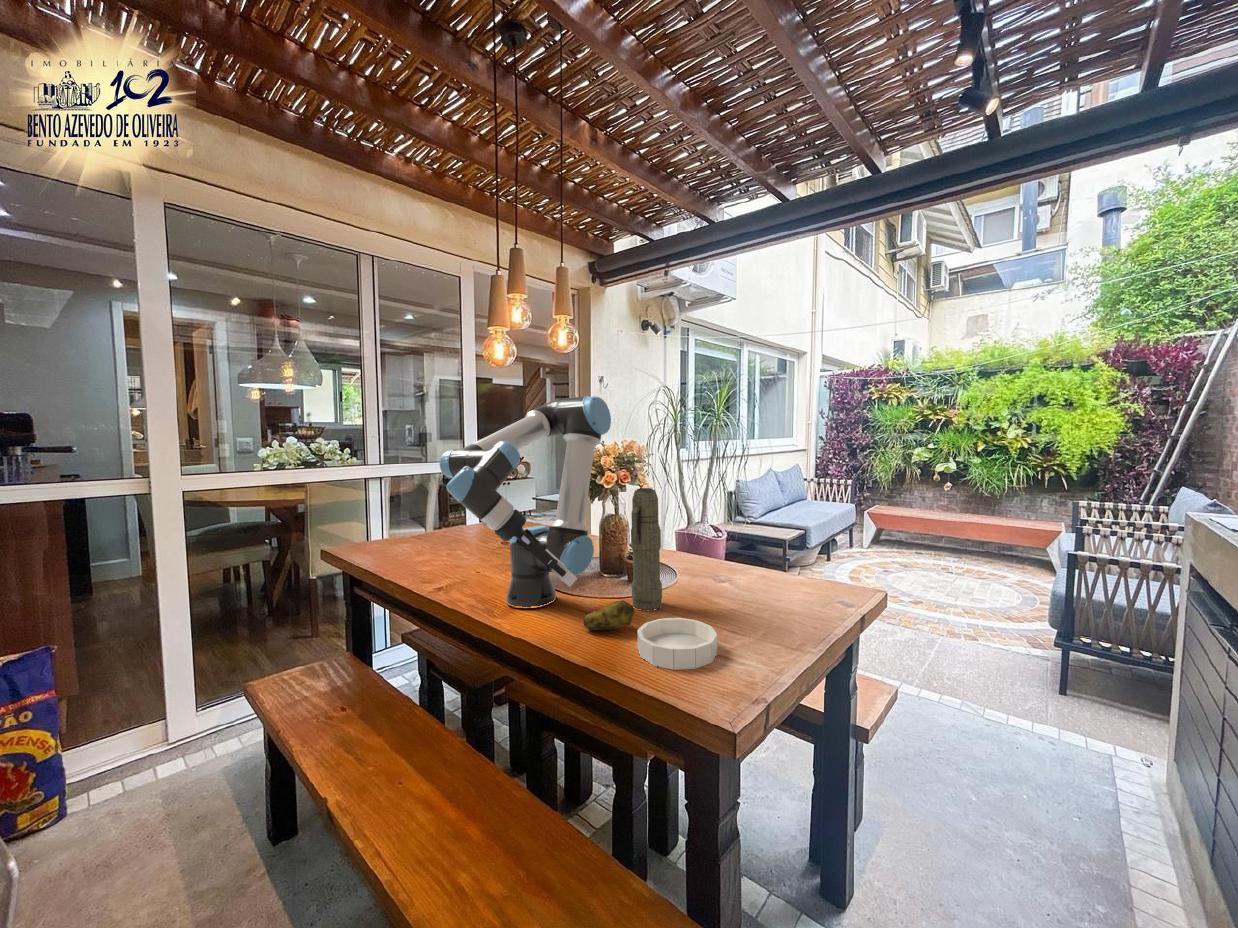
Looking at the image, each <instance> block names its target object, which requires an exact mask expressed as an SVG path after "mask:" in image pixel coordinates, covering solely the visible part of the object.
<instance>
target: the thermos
mask: <svg viewBox="0 0 1238 928" xmlns="http://www.w3.org/2000/svg"><path fill="white" fill-rule="evenodd" d="M631 502H632V510H631V529H630V543H631V544H630V548H631V551H632V568H633V569H632V572H633V573H632V574H633V576H632V577H633V579H632V582H631V599H632V606H633V607H635V608H637V609H641V610H654V609H658V608H660V607H661V606H663V605H662V604H663V603H662V599H663V584H662V583H663V582H662V581H661V565H660V564H661V563H660V562H661V560H660V558H661V557H660V556H661V555H660V550H661V548H662V537H661V536H662V533H661V531H662V530H661V527H660V524H659V497H658V495H657V491H656V490H655V489H653V488H652V487H651V488H649V487H645V488H644V487H643V488H641V487H640V488H637V489H635V490H634V492H633V496H632V501H631ZM661 608H662V607H661ZM661 608H660V609H661ZM658 610H659V609H658ZM654 611H655V610H654Z"/></svg>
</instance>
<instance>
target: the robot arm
mask: <svg viewBox="0 0 1238 928" xmlns="http://www.w3.org/2000/svg"><path fill="white" fill-rule="evenodd" d="M611 424H612V418H611V412H610V409H609V406H608V404H607V403H606V401H605V400H604V399H603V398H601V397H599V396H595V395H594V396H589V395H586V396H579V397H577V396H576V397H565V398H564V397H563V398H557V399H553V400H551V401H549V402H546V403H544V404H542V405H540V406H538V407H536V408H534V409H531V410H530V411H528V412H527V414H525V417H524V418H521V419H520V420H517V421H516V422H513V423H511V424H509V425H507V426H505V427H503V428H502V429H498V430H497V431H495V432H494V433H491V434H489V435H487V436H485V437H483V438H481V439H479V440H477V441H475V442H473V443H471V444H469V445H467V446H465V447H462V448H460V449H452V450H448V451H445V452H444V453H443V454H442V455H441V456H440V459H439V468H440V471H441V473H442V475H444V476H445V477H446V478H449V479H450V480H449V482H448V483H447V484H446V486H445V487H446V491H447V492H448V493H449V494H450V495H451V497H452V498H454V499H455V500H456V502H458V503H459V504H460V505H462V506H463V507H465V509H467V510H468V511H469V512H470V513H471V514H473V515H474V516H475V517H476V518H478V520H480V521H481V526H482V527H485V526H487V528H488V529H490V531H491V530H492V531H494V534H495V535H497V536H498V537H499V539H501V540H502V541H504V542H508V541H510V542H509V550H510V551H509V553H510V568H511V569H510V570H511V571H510V574H511V580H510V582H509V587H508V590H507V593H506V599H505V600H507V601H506V603H507V602H508V603H509V604H511V605H514V606H522V607H531V606H540V605H544V604H547V603H549V602H551V601H553V600H554V599H555V598H556V599H557V595H556V593H557V592H556V589H555V586H554V584H553V581H552V579H551V575H550V573H553V574H554V575H555V576H556V577H557V578H559V580H560V581H562V582H563V583H564V584H566V586H568V587H569V588H571V587H572V585H573V584H574V583H575V582H576V581H577V580H578V577H577V576H579V575H581V574H583V573H584V572H585V571H586V569H588V567H589V566H590V564H591V563H592V559H593V557H594V554H595V553H594V552H595V549H594V548H595V547H594V544H593V543H594V542H593V540H592V539H591V537H589V536H588V535H589V530H588V528H587V527H586V525H585V519H586V512H587V505H588V497H589V491H590V483H591V475H592V468H593V464H594V463H593V460H594V454H595V448H596V447H597V446H598V445H599V444H600V443H601V441H602V438H601V437H602V435H603V436H604V435H605V434H607V433H608V432H609V430H610V428H611ZM552 436H562V438H563V440H564V442H566V446H565V453H564V454H565V455H564V461H563V468H562V472H561V473H562V474H561V482H560V488H559V493H558V499H557V506H556V507H557V509H556V513H555V519H554V521H553V522H552V523H551V524H549V527H548V526H547V525H534V526H526V527H524V526H525V524H526V522H527V517H526V516H525V515H523V513H521V512H520V511H519V510H518V509H515V507H514V505H513V504H512V503H510V501H508V500H507V499H506V498H505V497H504V496H503V495H501V494H500V493H499V492H498V489H499V488H500V486H501V485H502V484H503V483H504V482H505V481H506V479H507V478H508V477H509V476H510V475H511V474H512V473H513V472H514V471H515V469H516V467H518V465H519V463H520V461H521V454H520V452H519V451H518V450H520V449H522V448H523V447H526V446H527V445H529V444H531V443H533V442H534V441H537V440H541V441H542V440H544V439H547V438H549V437H552Z"/></svg>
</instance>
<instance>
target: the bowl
mask: <svg viewBox="0 0 1238 928" xmlns="http://www.w3.org/2000/svg"><path fill="white" fill-rule="evenodd" d="M636 631H637V632H636V633H637V650H639V652H638V655H639V654H640V656H639V658H640V657H642V658H643V659H645V660H646V661H648V662H649V663H650V664H649V663H648V662H647V663H648V664H649V665H651V664H652V665H651V666H654V667H657V666H659V667H658V668H662V669H666V670H672V671H673V670H675V671H677V670H681V671H682V670H695V669H698V668H701V667H704V666H706V665H709V664H712V663H713V662H714V660H715V658H716V657H715V656H718V634H717V632H716V630H715V629H714V628H713V627H712V625H709V624H707V623H705V622H702V621H701V620H697V619H690V618H684V617H667V618H666V617H665V618H659V619H655V620H651V621H648V622H645V623H644V624H642V625H641V626H640V627H639V628H638V629H637V630H636ZM643 659H642V660H643ZM646 661H645V662H646Z"/></svg>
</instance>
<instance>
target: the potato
mask: <svg viewBox="0 0 1238 928" xmlns="http://www.w3.org/2000/svg"><path fill="white" fill-rule="evenodd" d="M634 616H635V609H634V608H633V604H631V603H630V602H627V601H625V600H618V601H617V600H616V601H613V602H610V603H609V604H607V605H605V606H604V607H603V608H601V609H597V610H594V611H591V612H589V613H588V614H586V615H585V616H584V618H583V627H584V628H585V629H587V630H589V631H592V632H593V631H605V632H606V631H613V630H616V629H618V628H621V627H623V626H630V625H631V622H632V620H633V618H634Z"/></svg>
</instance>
